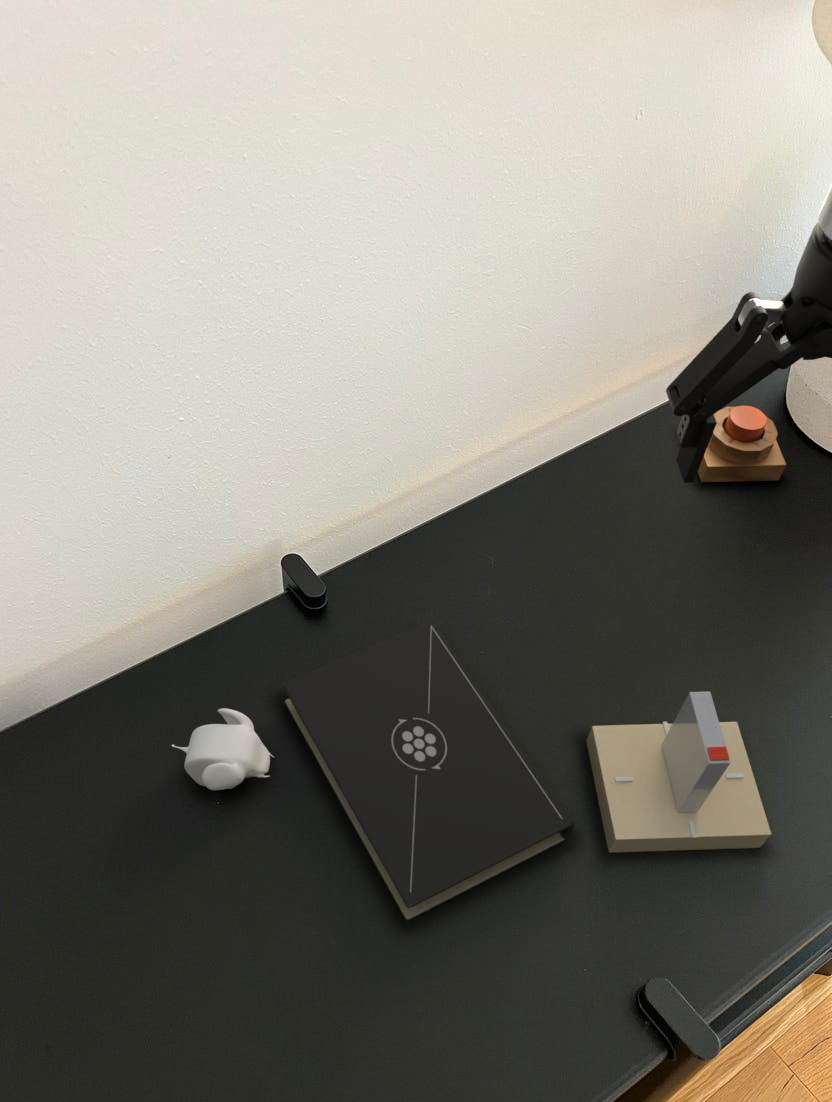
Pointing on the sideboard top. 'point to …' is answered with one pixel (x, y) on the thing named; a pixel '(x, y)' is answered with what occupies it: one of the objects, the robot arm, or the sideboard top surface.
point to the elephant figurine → (226, 752)
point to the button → (745, 424)
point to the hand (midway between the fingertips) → (764, 467)
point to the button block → (741, 455)
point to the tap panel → (670, 794)
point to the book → (425, 768)
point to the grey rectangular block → (695, 752)
